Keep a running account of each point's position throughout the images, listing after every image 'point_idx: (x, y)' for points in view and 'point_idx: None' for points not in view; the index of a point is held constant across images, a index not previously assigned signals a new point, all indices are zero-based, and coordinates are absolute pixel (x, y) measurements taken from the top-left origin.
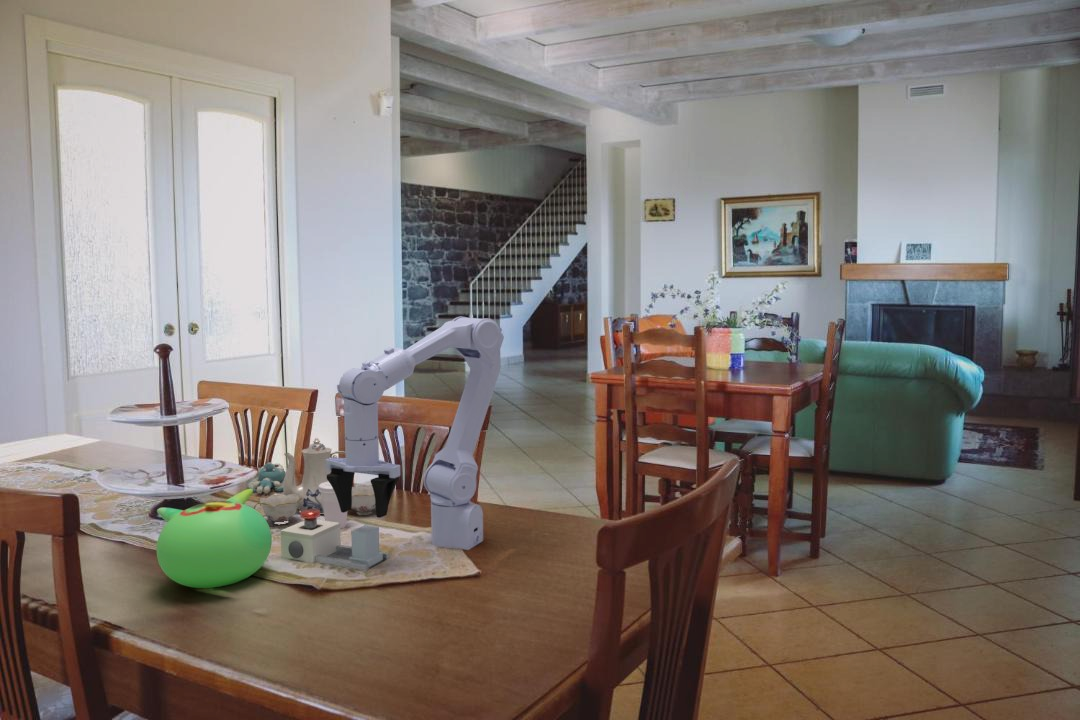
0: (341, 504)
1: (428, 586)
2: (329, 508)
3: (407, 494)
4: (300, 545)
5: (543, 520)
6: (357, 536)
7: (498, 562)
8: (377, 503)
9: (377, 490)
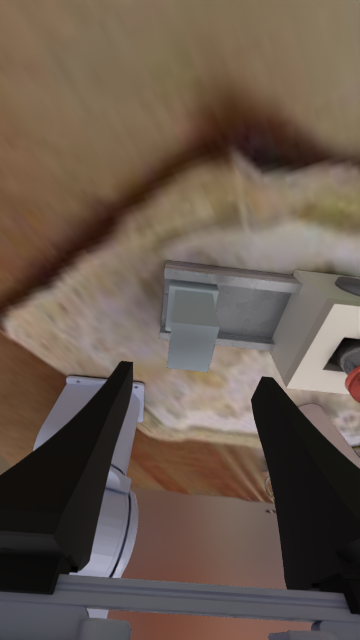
0: (278, 396)
1: (22, 248)
2: (336, 443)
3: (256, 497)
4: (352, 289)
5: None
6: (198, 318)
7: (10, 367)
8: (104, 397)
9: (61, 453)
